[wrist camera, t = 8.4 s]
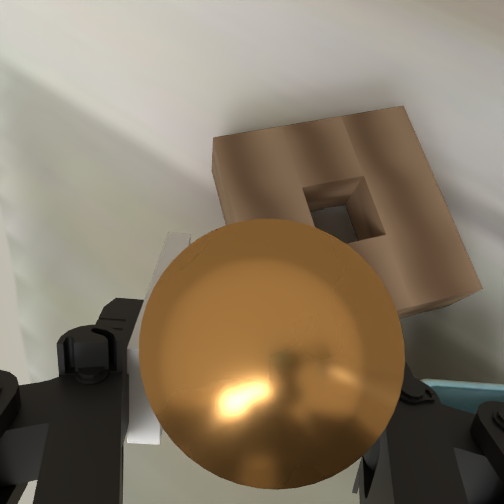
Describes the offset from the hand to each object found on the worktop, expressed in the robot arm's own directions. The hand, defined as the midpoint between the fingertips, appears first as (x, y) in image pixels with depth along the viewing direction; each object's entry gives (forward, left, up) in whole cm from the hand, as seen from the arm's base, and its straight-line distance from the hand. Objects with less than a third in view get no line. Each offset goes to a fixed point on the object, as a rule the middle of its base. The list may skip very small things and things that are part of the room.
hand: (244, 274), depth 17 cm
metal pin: (+1, +4, -5) cm, 6 cm away
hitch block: (-11, -7, -20) cm, 24 cm away
